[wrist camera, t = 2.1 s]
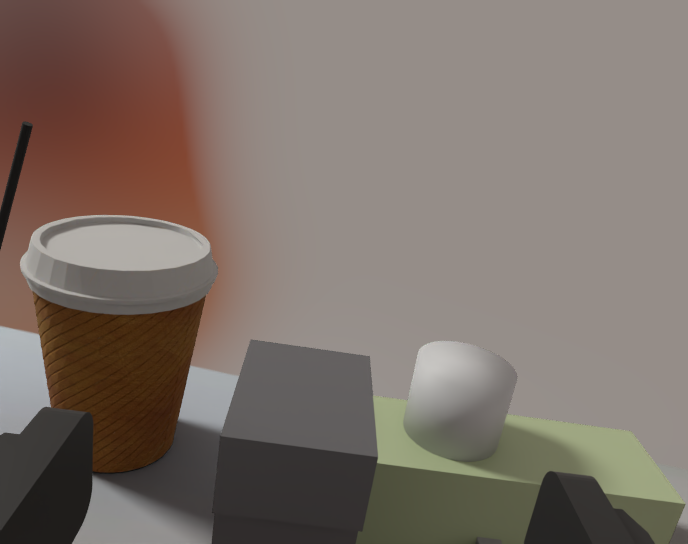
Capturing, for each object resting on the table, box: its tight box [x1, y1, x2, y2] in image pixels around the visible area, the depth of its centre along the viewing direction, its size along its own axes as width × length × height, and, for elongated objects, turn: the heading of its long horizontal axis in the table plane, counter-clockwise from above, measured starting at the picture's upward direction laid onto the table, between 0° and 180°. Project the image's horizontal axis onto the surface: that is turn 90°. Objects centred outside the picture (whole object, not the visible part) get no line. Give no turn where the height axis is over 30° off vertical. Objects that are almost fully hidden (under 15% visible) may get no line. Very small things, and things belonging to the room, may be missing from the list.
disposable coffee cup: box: [20, 215, 218, 473], centre depth 34 cm, size 10×10×12 cm
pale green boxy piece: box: [356, 341, 685, 544], centre depth 29 cm, size 16×14×9 cm
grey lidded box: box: [212, 340, 378, 544], centre depth 25 cm, size 5×7×11 cm
